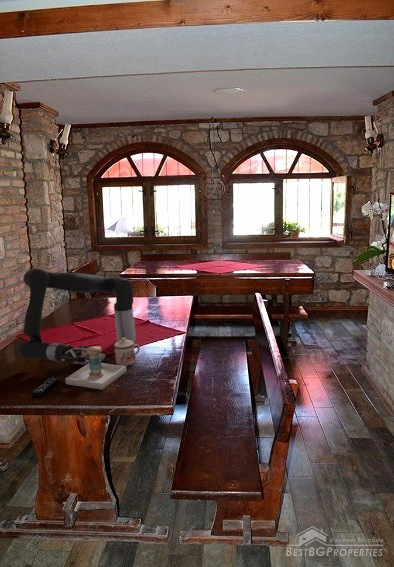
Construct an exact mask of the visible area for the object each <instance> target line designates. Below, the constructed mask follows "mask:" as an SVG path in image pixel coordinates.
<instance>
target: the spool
mask: <svg viewBox="0 0 394 567" xmlns="http://www.w3.org/2000/svg"><path fill="white" fill-rule="evenodd" d="M101 352H102V347H101V346H97V345H96V346H91V347H89V348H87V349H86V352H85V353H87V354H89V358H88V360H89V365H90V370H91V372H90V373H89V377H90V378H91V379H98V378H101V377H103V376H104V372H103V371H101V368H102V367H101V363H102V361H101V357H100V354H101Z"/></svg>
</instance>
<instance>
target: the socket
mask: <svg viewBox="0 0 394 567" xmlns="http://www.w3.org/2000/svg"><path fill="white" fill-rule="evenodd" d="M80 357H85V362H84V363H83V362H75V364H76V365H82V366H86V365H87V364H89V354H87V355H85V356H80ZM100 357H101V362H102V361H104V359H106V353H100Z"/></svg>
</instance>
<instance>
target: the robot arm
mask: <svg viewBox="0 0 394 567" xmlns="http://www.w3.org/2000/svg"><path fill="white" fill-rule="evenodd" d="M23 282H24V284H25V285H26V286H27V287H28V288H29V294H30V295H29V302H28V305H27V309H26V311H25V315H24V322H23V334H24V335H25V336H28V339H29V340H27V341H23V342H21V343H20V344H18V347H17V353H18V354H19V356H20V357H22V358H25V359H44V360H51V361H55V362H61V364H62V363H63V364H70V365H73V364H74V363H76V362H83V363H84V362H85V360H86V359H85V357H81V356H85V355H87V352H86V349H87V348H89V347H92V346H90V345H89V346H88V345H79V346H78V347H75V348H74V347H73V345H71V344H67V343H59V342H56V343H55V342H54V343H52V342H43V341H42V335H41V326H42V316H43V315H42V314H43V308H44V303H45V296H46V293H47V289H55V290H56V289H57V290H61V291H67V292H73V293H82V294H91V293H97V292H102V293H107V294H108V293H109V294H113V295H115V303H113V309H114V310H113V311H114V319H115V320H114V321H115V330H116V331H115V332H116V340H117V341H116V342H118V341H120V340H121V339H122V338H126V339H127V340H131V341H133V342H134V343H135V341H136V338H137V334H136V327H135V326H136V324H135V318H134V311H133V304H134V289H133V288H134V287H133V284H132V281H131V280H129V279H127V278H125V277H122V276H115V277H114V276H112V277H111V276H108V277H106V276H105V277H104V276H99V275H95V274H90V273H84V272H83V273H82V272H81V273H80V272H53V271H47V270H45V269H43V268H30V269H29V270H27V271H26V272H25V273H24V275H23Z"/></svg>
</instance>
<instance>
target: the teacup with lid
mask: <svg viewBox="0 0 394 567" xmlns="http://www.w3.org/2000/svg"><path fill="white" fill-rule="evenodd" d="M113 347H114V353H115V354H114V355H115V363H116V364H115V365H121V366H126V367H128V366H131V365H133V364H134V363H136V355H138V354H139V352H140V349H141V346H140V345H139V344H137V343H135V341H134V342H133V341H131V340H127V339H126V338H122V339H121V340H120V341H118V342H117V341H116V342H115V343H114V345H113ZM135 347H137V349H136V352H135Z"/></svg>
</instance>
